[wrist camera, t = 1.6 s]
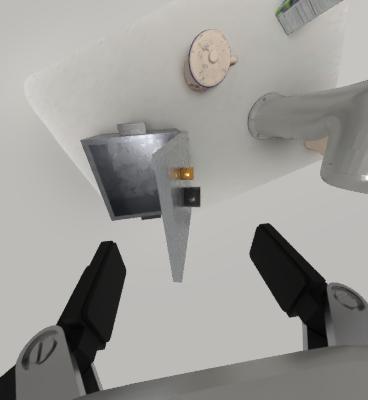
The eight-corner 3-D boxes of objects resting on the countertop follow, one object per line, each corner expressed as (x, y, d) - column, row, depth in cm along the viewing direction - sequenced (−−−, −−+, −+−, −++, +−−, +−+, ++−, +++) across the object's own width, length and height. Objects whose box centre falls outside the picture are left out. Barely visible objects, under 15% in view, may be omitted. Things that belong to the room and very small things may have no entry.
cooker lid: (181, 131, 33) (200, 130, 33) (186, 210, 44) (201, 211, 44) (151, 154, 15) (196, 152, 14) (173, 281, 26) (199, 283, 25)
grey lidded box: (175, 119, 43) (180, 120, 32) (181, 198, 56) (186, 217, 46) (96, 125, 40) (75, 127, 30) (123, 206, 54) (114, 227, 44)
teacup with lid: (185, 95, 40) (194, 88, 30) (180, 50, 35) (188, 23, 25) (227, 88, 41) (249, 79, 31) (227, 43, 36) (253, 14, 26)
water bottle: (317, 154, 55) (439, 183, 31) (296, 153, 54) (408, 183, 29) (332, 124, 50) (493, 130, 26) (310, 122, 49) (459, 126, 24)
